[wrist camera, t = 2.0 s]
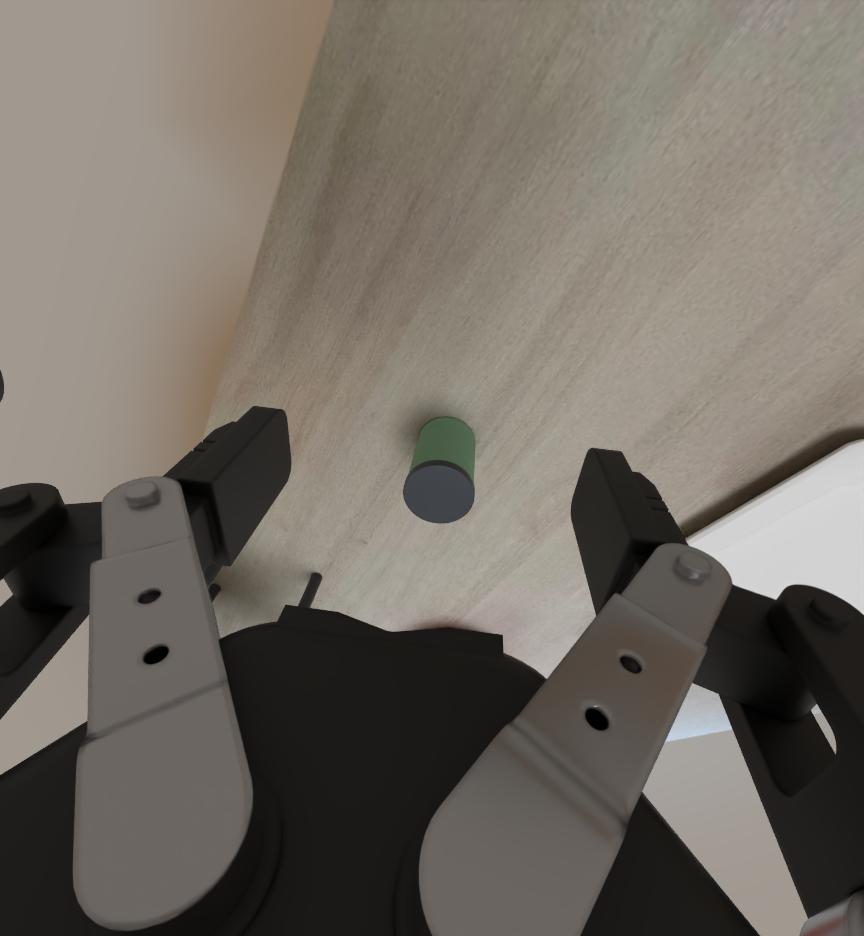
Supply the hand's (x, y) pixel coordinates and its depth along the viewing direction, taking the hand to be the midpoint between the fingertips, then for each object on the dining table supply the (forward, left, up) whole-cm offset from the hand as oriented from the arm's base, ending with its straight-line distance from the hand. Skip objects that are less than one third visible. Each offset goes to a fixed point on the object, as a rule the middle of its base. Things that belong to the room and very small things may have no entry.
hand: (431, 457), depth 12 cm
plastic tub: (+5, -12, -24) cm, 27 cm away
